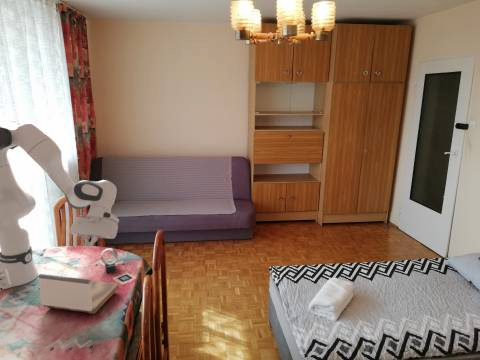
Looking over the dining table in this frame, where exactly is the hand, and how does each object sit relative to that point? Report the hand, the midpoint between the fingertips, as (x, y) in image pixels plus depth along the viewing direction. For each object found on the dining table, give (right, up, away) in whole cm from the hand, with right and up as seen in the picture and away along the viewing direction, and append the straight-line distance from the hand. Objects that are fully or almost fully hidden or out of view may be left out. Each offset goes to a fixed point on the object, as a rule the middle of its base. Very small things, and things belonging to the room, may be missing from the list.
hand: (88, 246), depth 142 cm
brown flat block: (-1, -22, -1) cm, 22 cm away
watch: (0, -16, +24) cm, 29 cm away
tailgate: (-3, -21, -11) cm, 24 cm away
